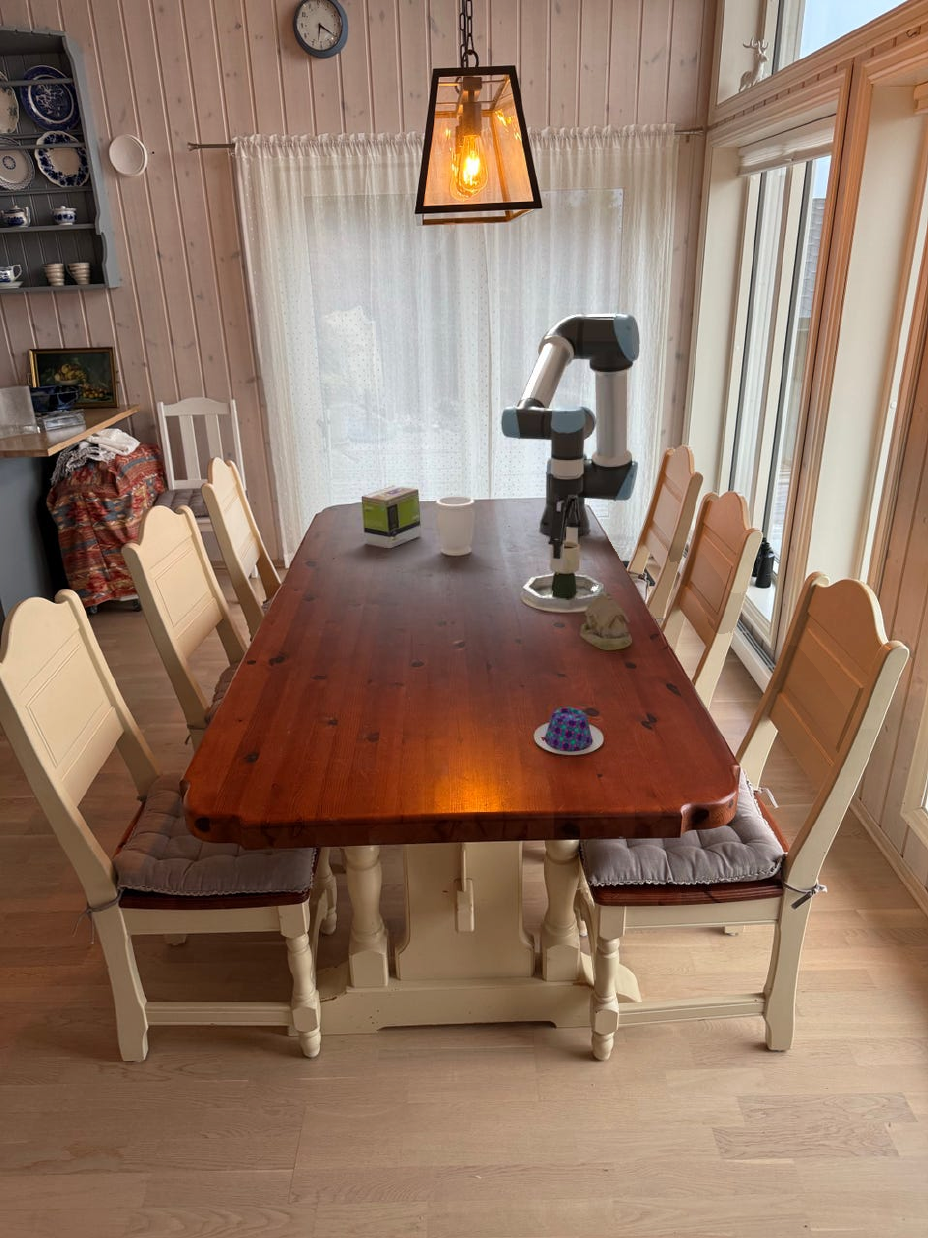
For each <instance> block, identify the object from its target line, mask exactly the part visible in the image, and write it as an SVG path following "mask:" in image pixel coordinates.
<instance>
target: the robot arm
mask: <svg viewBox="0 0 928 1238" xmlns="http://www.w3.org/2000/svg"><path fill="white" fill-rule="evenodd" d="M639 331H640V329H639V327H638V322H637V320H636V318H635V317H634V316H633V315H631V314H624V313H623V314H622V313H576V314H572V315H568V316H567V317H564V318H562V319H561V320H560V321H558V322H557V323H554V325H553V326H552V327H550V328H549V329H548V330H547V331H546V333H545V334H544V335H543V337H542V339H541V341H540V343H539V346H538V352H537V353H538V357H537V360H536V362H535V363H534V366H533V369H532V371H531V374H530V375H529V378H528V380H527V382H526V384H525V387H524V390H523V391H522V394H521V397H520V399H519V401H518V403H517V405H513V406H512V405H511V406H507V407H504V409H503V410H502V413H501V421H500V425H501V431H502V434H503V436H504V437H506V438H511V439H517V440H520V439H521V440H541V441H543V440H546V441H550V446H551V447H550V457H549V458H548V460H547V462H546V471H545V479H546V480H545V483H546V484H545V506H544V510H543V513H542V516H541V519H540V521H539V531H540V532H541V533H542V534H545V535H547V536H549V540H548V542H547V545H550V546H551V545H552V572H553V571H561V572H563V570H564V544H563V541H572V542H576V543H578V536H579V537H580V536H584V535H587V534H588V533H589V532H590V520H589V516H588V513H587V510H586V507H585V506H586V505H585V503H586V502H585V500H586V499H589V500H590V499H591V500H592V499H593V500H603V501H614V502H617V501H622V502H623V501H629V500H630V499H631V497H632V496H633V495H632V494H633V492H634V488H635V485H636V481H637V474H638V469H639V464H638V463H639V462H638V461H636V460H633V454H632V452H631V451H629V449H628V447H627V446H628V441H627V440H628V371H629V370H630V369H632V367H633V365H634V361H636V360H638V359H639V357H640V332H639ZM574 360H588V362H589V368H590V370H591V371H592V372H594V375H595V376H594V377H595V414H594V412H593V411H592V410H591V409H590V408H588V407H586V406H575V405H563V406H558V407H554V408H553V407H550V405H551V403H552V401H553V398H554V395H555V393H556V391H557V389H558V386H559V384H560V382H561V379H562V377H563V374H564V371H565V369H566V367H568V366H569V365H570V364H571V363H572V361H574ZM594 430H595V431H596V432H595V433H596V437H595V438H596V440H595V441H596V443H595V444H596V451H594V452H593V453H592V455H591V458H587V457H588V456H587V453H585V452H584V451H585V441H586V439H588V438H590V437H591V435H592V434H593V433H594ZM564 538H565V540H564Z"/></svg>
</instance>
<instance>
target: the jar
mask: <svg viewBox="0 0 928 1238" xmlns="http://www.w3.org/2000/svg"><path fill="white" fill-rule="evenodd" d="M474 505H475V500H474V499H473V498H471V497H465V496H446V497H441V498H438V499H437V500H436V506H437V507H438V508H437V513H436V529H437V531H438V539H439V541H440V544H441V546H442V548H441V553H442V554H443V555H446V556H451V557H453V556H454V557H455V556H456V557H457V556H458V557H459V556H466V555H468V554H470V553H472V549H471V546H470V545H471V544H472V542H473V536H474V530H475V512H474V508H473V506H474Z"/></svg>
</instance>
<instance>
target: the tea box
mask: <svg viewBox="0 0 928 1238" xmlns="http://www.w3.org/2000/svg"><path fill="white" fill-rule="evenodd" d="M361 507H362V521H363V533H364V542H365V543H364V544H366V545H370V546H375V547H378V548H385V549H391V548H394V547H396V546H399V545H401V544H404V543H407V542H409V541H411V540H414V539H416V538H419V537H421V536H422V527H421V525H422V524H421V511H420V510H421V509H420V507H421V506H420V493H419V489H418V488H412V487H411V488H409V487H404V486H396V485H391V486H388V487H385V488H383V489H379V490H377V491H373V492H372V493H371V492H370V493H368V494H365V495H361Z"/></svg>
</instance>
